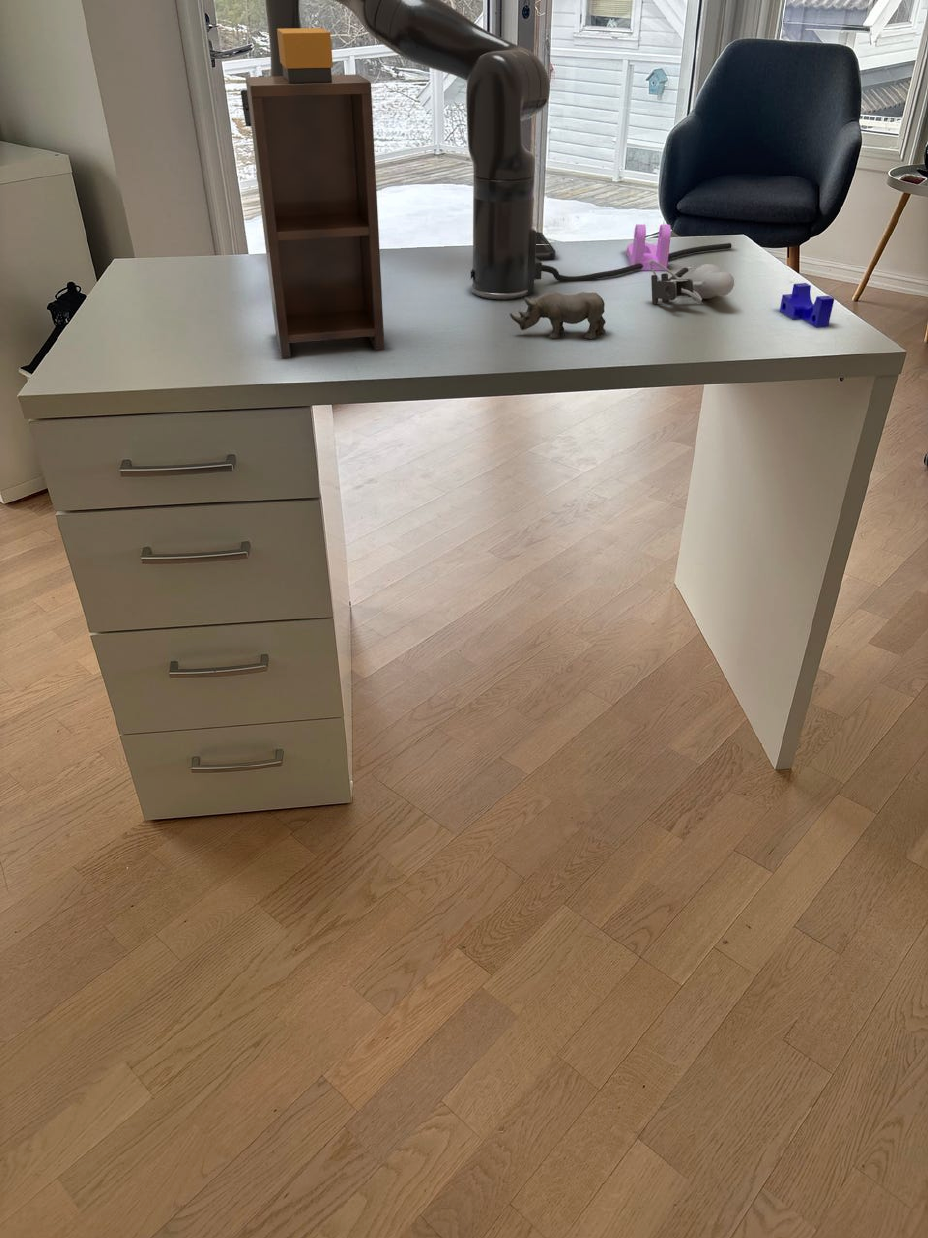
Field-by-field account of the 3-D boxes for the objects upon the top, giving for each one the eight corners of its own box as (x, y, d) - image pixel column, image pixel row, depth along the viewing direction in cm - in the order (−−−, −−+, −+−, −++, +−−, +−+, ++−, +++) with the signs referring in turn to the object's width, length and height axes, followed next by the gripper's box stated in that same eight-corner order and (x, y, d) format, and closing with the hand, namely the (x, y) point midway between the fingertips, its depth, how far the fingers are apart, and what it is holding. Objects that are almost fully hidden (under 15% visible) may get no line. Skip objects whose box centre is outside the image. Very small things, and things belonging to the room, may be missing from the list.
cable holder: (779, 311, 142) (784, 284, 139) (800, 309, 142) (805, 282, 140) (806, 327, 135) (812, 300, 133) (828, 326, 136) (834, 298, 134)
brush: (316, 67, 122) (312, 22, 119) (334, 82, 109) (330, 31, 106) (274, 68, 121) (270, 23, 118) (287, 83, 108) (282, 32, 105)
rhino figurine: (508, 329, 134) (509, 287, 131) (603, 330, 134) (607, 287, 131) (509, 339, 131) (510, 296, 128) (607, 339, 131) (611, 296, 127)
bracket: (666, 270, 160) (671, 227, 156) (633, 270, 160) (638, 227, 156) (655, 250, 170) (659, 209, 166) (624, 250, 170) (628, 209, 166)
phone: (512, 253, 164) (501, 232, 176) (512, 260, 164) (500, 238, 177) (557, 252, 164) (542, 231, 177) (556, 259, 165) (541, 237, 177)
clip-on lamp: (633, 301, 155) (666, 310, 138) (632, 261, 152) (664, 265, 136) (702, 292, 155) (743, 300, 139) (702, 252, 153) (743, 254, 136)
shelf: (373, 328, 135) (359, 73, 116) (384, 349, 128) (371, 81, 109) (276, 336, 132) (245, 76, 113) (281, 358, 125) (250, 85, 106)
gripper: (239, 108, 139) (236, 53, 124) (334, 105, 142) (343, 50, 126) (247, 160, 140) (245, 112, 124) (341, 156, 143) (350, 108, 127)
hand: (294, 81), depth 125 cm, fingers open, 8 cm apart
